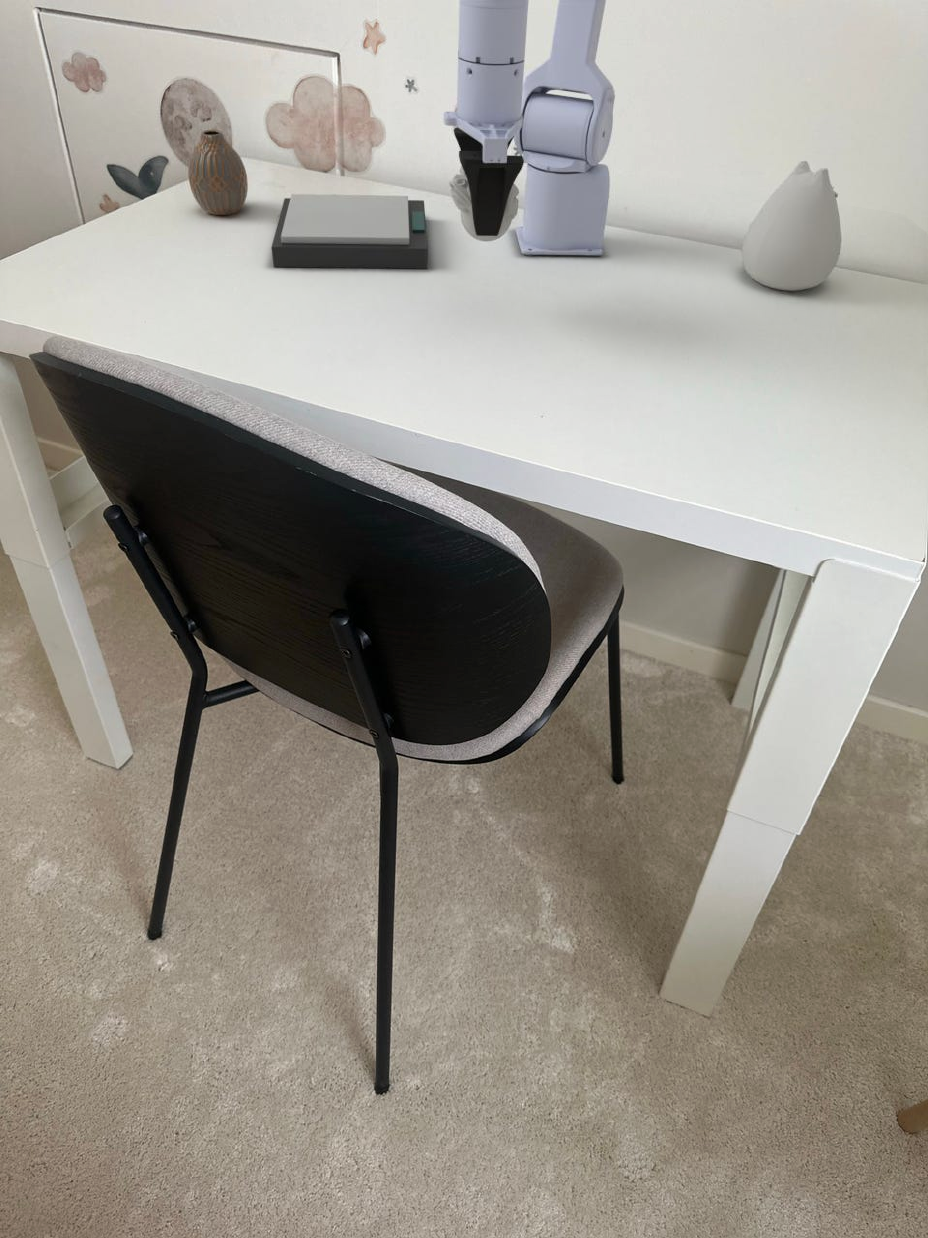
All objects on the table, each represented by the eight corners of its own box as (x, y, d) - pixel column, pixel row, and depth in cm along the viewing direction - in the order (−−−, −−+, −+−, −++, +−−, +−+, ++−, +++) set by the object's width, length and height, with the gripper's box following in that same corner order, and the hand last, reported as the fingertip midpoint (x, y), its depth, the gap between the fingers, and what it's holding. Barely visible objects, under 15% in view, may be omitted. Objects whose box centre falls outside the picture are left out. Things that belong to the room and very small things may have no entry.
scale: (424, 218, 111) (424, 193, 109) (427, 268, 99) (427, 241, 97) (286, 216, 110) (283, 190, 108) (273, 267, 98) (270, 239, 96)
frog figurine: (437, 233, 88) (438, 156, 83) (501, 225, 90) (505, 149, 85) (462, 255, 84) (465, 176, 79) (529, 246, 86) (535, 168, 81)
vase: (183, 215, 109) (169, 136, 103) (211, 197, 114) (199, 121, 108) (234, 222, 108) (223, 143, 102) (260, 204, 113) (251, 128, 107)
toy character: (850, 287, 99) (888, 171, 91) (783, 305, 95) (817, 185, 87) (781, 255, 106) (811, 145, 98) (716, 271, 101) (742, 157, 93)
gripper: (440, 39, 81) (438, 195, 91) (449, 76, 71) (446, 249, 80) (517, 40, 82) (507, 196, 91) (537, 78, 71) (524, 250, 80)
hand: (483, 221), depth 86 cm, fingers closed on frog figurine, 6 cm apart
